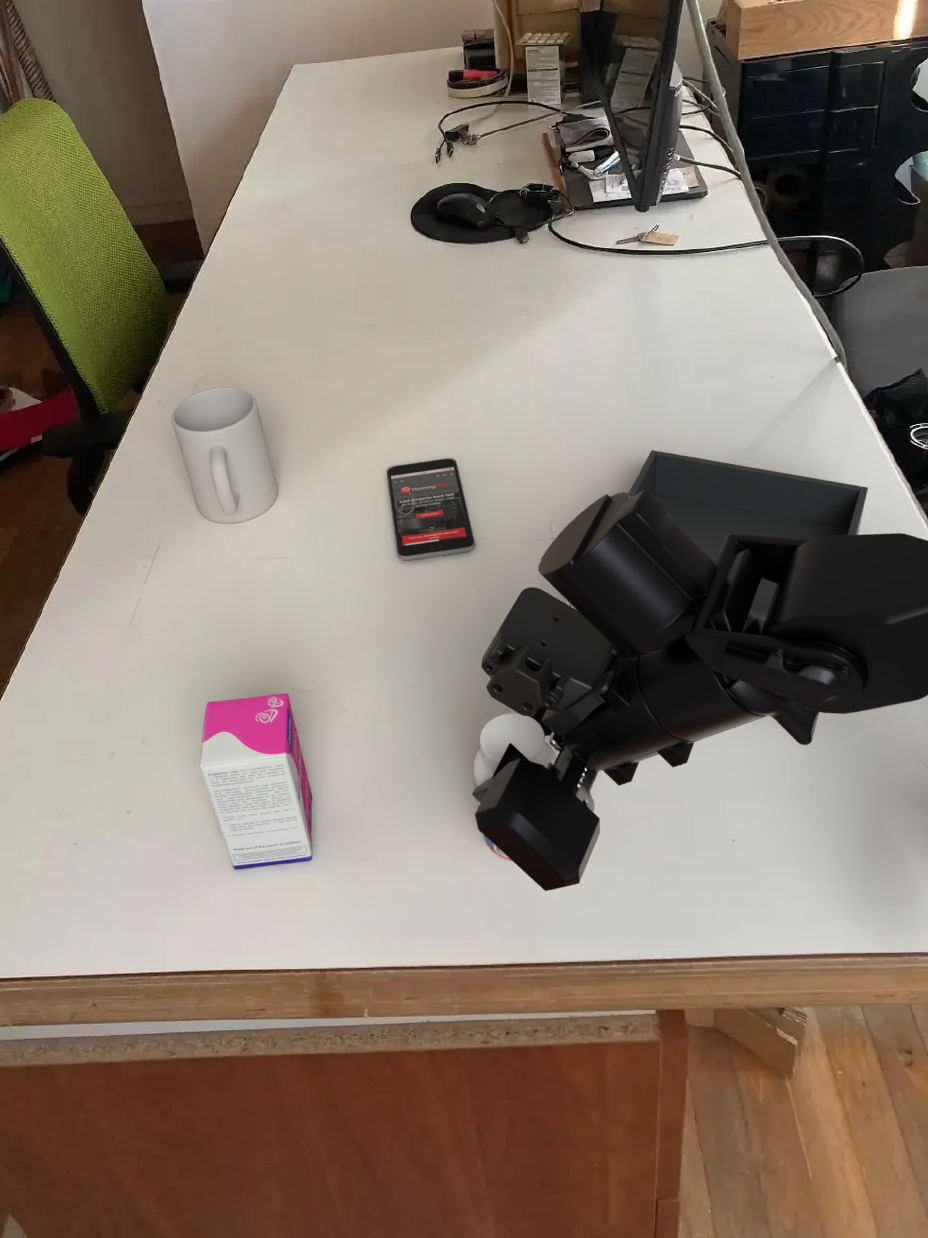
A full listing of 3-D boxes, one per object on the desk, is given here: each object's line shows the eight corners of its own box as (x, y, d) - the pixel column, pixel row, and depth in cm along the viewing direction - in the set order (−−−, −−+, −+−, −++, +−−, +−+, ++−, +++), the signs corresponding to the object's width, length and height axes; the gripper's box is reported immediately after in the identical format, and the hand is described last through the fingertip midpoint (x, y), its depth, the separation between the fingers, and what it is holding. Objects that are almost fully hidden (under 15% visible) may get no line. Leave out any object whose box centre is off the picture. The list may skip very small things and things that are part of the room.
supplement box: (316, 861, 71) (286, 756, 64) (232, 872, 71) (192, 768, 64) (316, 794, 76) (288, 689, 68) (237, 804, 76) (200, 700, 69)
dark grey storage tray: (858, 532, 92) (868, 487, 89) (819, 679, 79) (829, 632, 76) (649, 492, 100) (651, 449, 96) (584, 620, 87) (584, 575, 84)
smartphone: (397, 557, 95) (386, 466, 106) (398, 563, 95) (386, 472, 107) (475, 546, 95) (455, 456, 106) (476, 552, 95) (455, 462, 107)
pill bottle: (535, 786, 71) (529, 690, 65) (578, 843, 67) (576, 747, 61) (466, 820, 70) (454, 725, 63) (506, 880, 66) (496, 785, 59)
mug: (198, 482, 109) (172, 394, 102) (277, 469, 109) (256, 380, 102) (195, 552, 100) (166, 460, 93) (281, 537, 100) (259, 444, 93)
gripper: (627, 480, 58) (467, 584, 70) (500, 713, 46) (331, 792, 57) (755, 613, 60) (578, 692, 71) (666, 871, 48) (470, 917, 59)
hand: (496, 763), depth 65 cm, fingers closed on pill bottle, 5 cm apart
